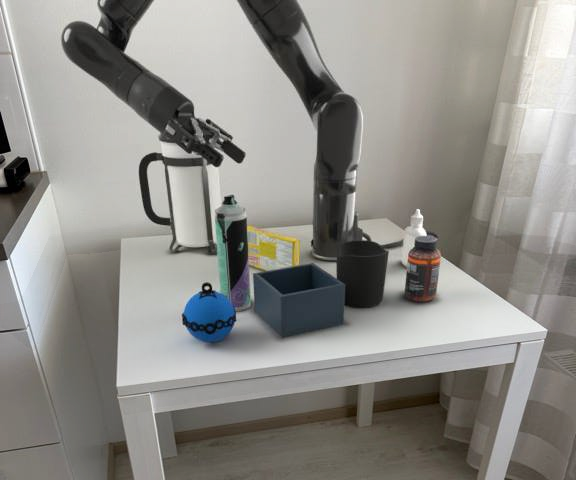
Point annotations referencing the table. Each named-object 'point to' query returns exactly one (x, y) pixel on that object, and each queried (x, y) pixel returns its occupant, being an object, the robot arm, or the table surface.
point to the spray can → (233, 252)
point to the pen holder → (362, 272)
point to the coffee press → (185, 195)
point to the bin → (298, 299)
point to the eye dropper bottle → (412, 235)
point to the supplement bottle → (422, 269)
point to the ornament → (209, 315)
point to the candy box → (271, 249)
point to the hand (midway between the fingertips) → (232, 160)
